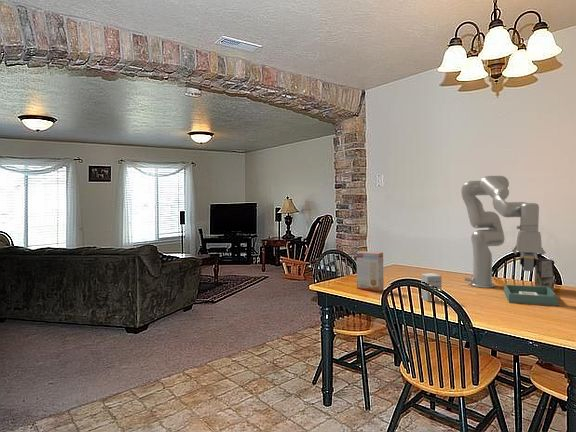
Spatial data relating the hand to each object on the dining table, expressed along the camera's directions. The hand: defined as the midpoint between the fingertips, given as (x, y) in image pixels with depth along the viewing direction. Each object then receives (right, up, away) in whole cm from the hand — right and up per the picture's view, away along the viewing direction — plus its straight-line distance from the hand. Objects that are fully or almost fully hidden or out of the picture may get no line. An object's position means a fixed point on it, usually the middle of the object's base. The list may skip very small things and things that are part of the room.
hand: (528, 266), depth 197 cm
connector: (0, -2, 0) cm, 2 cm away
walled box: (+3, -16, +4) cm, 17 cm away
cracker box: (-70, -17, +31) cm, 78 cm away
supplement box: (-45, -17, +5) cm, 48 cm away
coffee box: (+22, -15, +23) cm, 35 cm away
